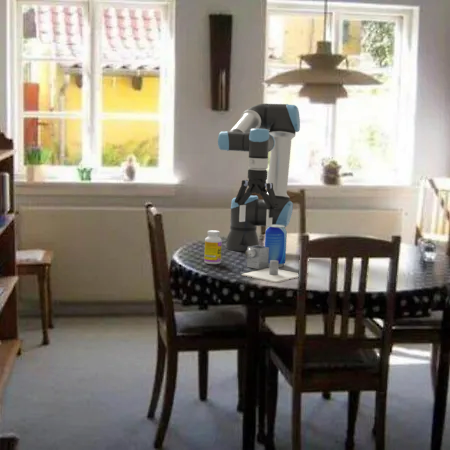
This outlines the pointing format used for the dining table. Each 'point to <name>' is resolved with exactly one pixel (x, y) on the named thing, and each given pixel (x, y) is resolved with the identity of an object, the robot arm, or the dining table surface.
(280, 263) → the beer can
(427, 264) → the dining table surface
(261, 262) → the elbow sleeve
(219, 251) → the supplement bottle
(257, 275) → the panel
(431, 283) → the dining table surface
